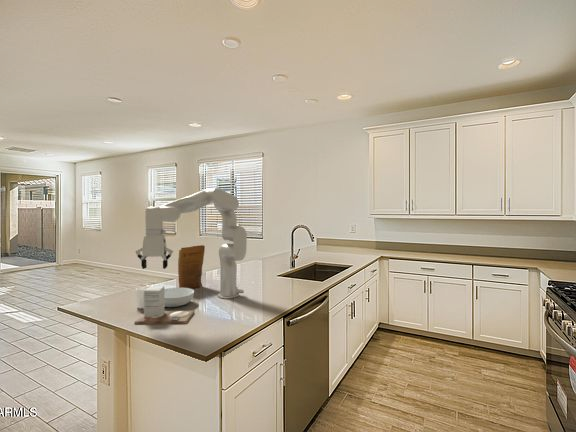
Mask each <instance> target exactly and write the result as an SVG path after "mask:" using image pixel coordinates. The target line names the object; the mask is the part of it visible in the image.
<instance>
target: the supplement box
mask: <svg viewBox="0 0 576 432" xmlns="http://www.w3.org/2000/svg"><path fill="white" fill-rule="evenodd" d="M164 289H165V286H151V287H149V288H147V289H146V290H144V308H143V314H144V317H160V316H161V315H162V314H163V313H164V311H166V309H165V308H166V307H165V298H164Z"/></svg>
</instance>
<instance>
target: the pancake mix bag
mask: <svg viewBox="0 0 576 432" xmlns="http://www.w3.org/2000/svg"><path fill="white" fill-rule="evenodd" d="M205 249H206V248H205V245H203V244H202V245H201V244H200V245H193V246H192V245H191V246H188V247H181V248H180V249H179V250H178V260H177V262H178V263H177V272H178V274H177V275H178V288H189V289H192V290H194V289H199V288H201V287H202V286H203V283H202V276H203V264H204V260H205V259H204V258H205V257H204V256H205Z"/></svg>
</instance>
